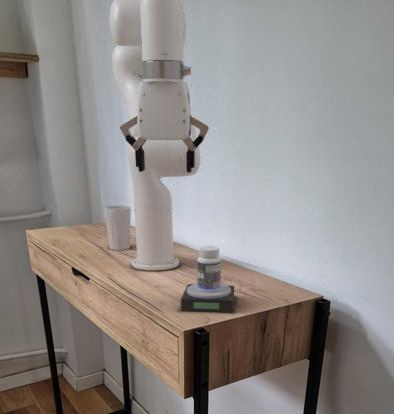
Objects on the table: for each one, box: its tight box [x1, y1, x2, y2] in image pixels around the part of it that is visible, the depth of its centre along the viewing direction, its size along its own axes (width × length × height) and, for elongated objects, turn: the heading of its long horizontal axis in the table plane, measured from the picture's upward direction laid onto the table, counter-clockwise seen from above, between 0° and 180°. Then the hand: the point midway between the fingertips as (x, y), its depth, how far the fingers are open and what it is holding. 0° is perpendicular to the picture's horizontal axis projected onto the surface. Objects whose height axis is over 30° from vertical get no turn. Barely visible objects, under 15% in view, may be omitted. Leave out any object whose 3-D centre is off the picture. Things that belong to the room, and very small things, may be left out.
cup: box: [103, 204, 132, 251], centre depth 146 cm, size 8×8×12 cm
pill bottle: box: [196, 245, 222, 292], centre depth 97 cm, size 5×5×8 cm
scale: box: [180, 283, 235, 313], centre depth 99 cm, size 10×10×3 cm
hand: (165, 171), depth 97 cm, fingers open, 9 cm apart
